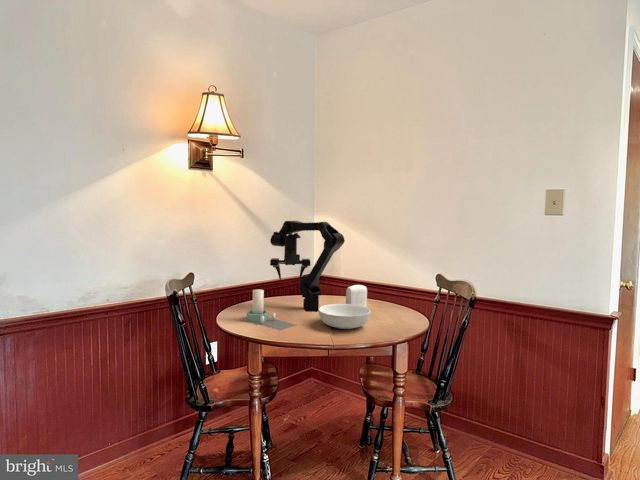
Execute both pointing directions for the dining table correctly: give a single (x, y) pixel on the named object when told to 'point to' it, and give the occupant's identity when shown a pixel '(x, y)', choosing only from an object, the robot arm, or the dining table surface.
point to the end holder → (256, 316)
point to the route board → (272, 323)
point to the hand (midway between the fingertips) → (290, 280)
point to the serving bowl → (344, 315)
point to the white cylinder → (258, 301)
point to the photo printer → (356, 295)
